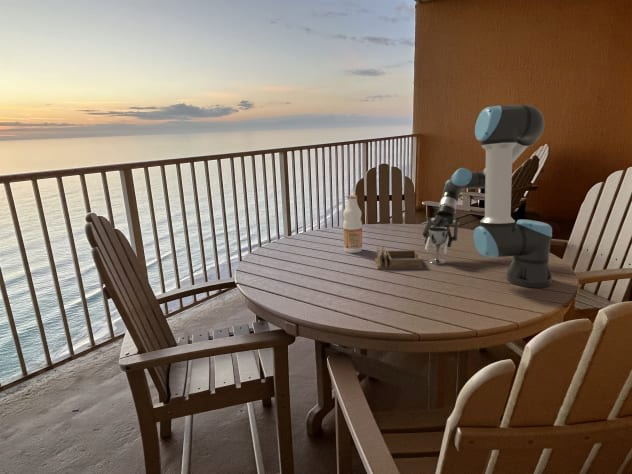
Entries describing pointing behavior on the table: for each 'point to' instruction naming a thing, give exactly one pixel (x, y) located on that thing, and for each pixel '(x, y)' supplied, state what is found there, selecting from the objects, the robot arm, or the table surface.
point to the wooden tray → (398, 259)
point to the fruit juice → (352, 226)
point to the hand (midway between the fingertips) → (435, 251)
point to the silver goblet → (438, 241)
